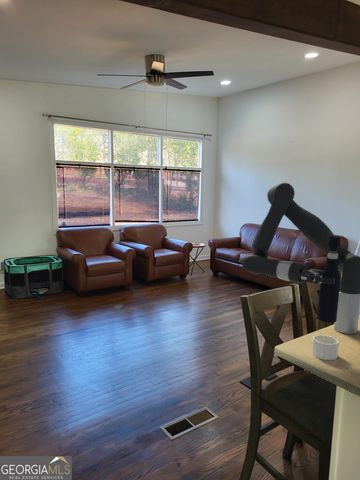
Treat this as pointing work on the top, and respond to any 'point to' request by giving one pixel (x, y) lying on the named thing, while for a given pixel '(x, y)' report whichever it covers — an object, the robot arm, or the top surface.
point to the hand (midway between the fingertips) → (337, 280)
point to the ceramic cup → (325, 347)
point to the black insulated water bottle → (328, 291)
